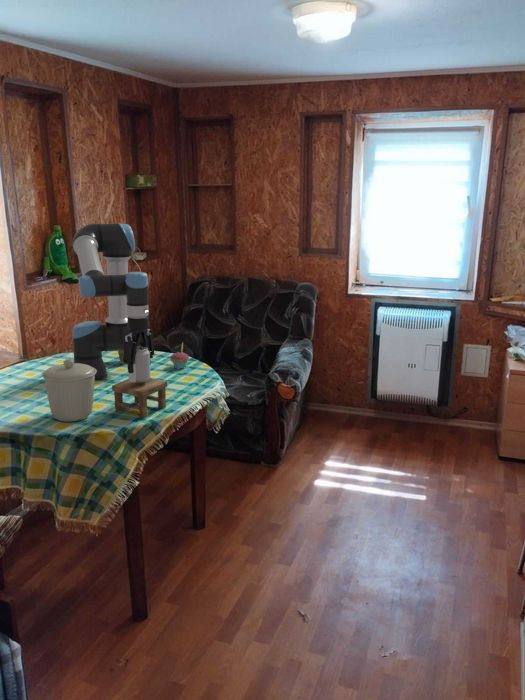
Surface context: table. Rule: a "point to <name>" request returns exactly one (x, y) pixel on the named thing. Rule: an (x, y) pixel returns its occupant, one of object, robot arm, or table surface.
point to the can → (142, 364)
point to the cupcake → (179, 359)
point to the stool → (140, 394)
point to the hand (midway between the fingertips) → (139, 378)
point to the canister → (70, 390)
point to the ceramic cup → (121, 355)
